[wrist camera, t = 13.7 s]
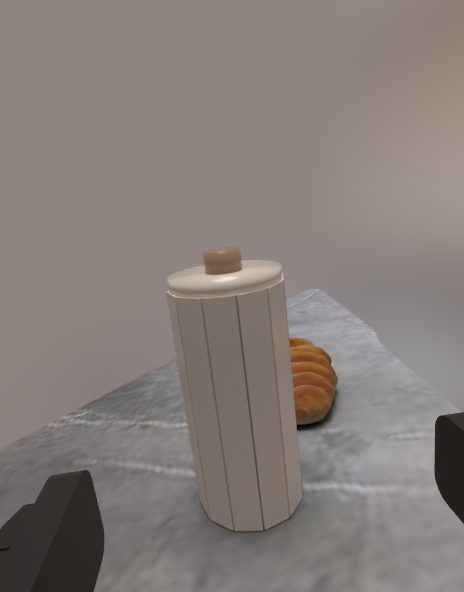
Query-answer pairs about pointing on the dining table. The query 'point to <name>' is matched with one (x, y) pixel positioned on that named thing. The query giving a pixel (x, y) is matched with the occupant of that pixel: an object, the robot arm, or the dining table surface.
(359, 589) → the dining table surface
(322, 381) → the pastry
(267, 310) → the ribbed lidded canister
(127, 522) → the dining table surface
